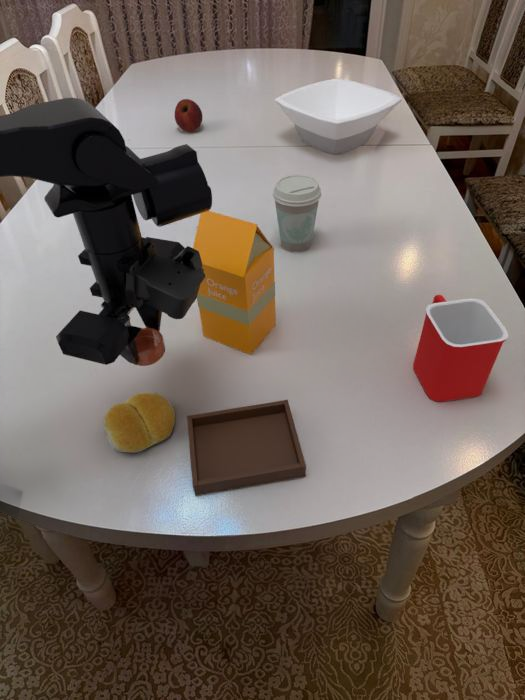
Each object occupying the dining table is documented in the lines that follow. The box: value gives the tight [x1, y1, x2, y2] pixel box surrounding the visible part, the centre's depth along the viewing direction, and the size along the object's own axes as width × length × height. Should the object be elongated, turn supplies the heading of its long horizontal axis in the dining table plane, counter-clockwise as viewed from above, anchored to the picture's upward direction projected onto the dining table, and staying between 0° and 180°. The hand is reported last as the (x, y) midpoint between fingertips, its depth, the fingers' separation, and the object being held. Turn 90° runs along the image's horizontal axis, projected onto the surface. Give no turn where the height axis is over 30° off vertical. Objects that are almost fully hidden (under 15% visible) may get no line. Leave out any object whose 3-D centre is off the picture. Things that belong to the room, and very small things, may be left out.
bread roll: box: [104, 392, 176, 454], centre depth 64 cm, size 8×9×4 cm
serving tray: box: [186, 399, 307, 497], centre depth 61 cm, size 13×10×2 cm
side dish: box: [133, 327, 166, 367], centre depth 61 cm, size 5×5×2 cm
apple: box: [174, 98, 203, 133], centre depth 133 cm, size 7×8×8 cm
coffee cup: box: [272, 174, 322, 253], centre depth 90 cm, size 9×8×12 cm
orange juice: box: [192, 210, 277, 356], centre depth 71 cm, size 8×9×20 cm
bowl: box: [274, 77, 402, 155], centre depth 124 cm, size 24×25×10 cm
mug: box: [412, 294, 510, 402], centre depth 67 cm, size 12×8×11 cm
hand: (144, 348), depth 61 cm, fingers closed on side dish, 5 cm apart
